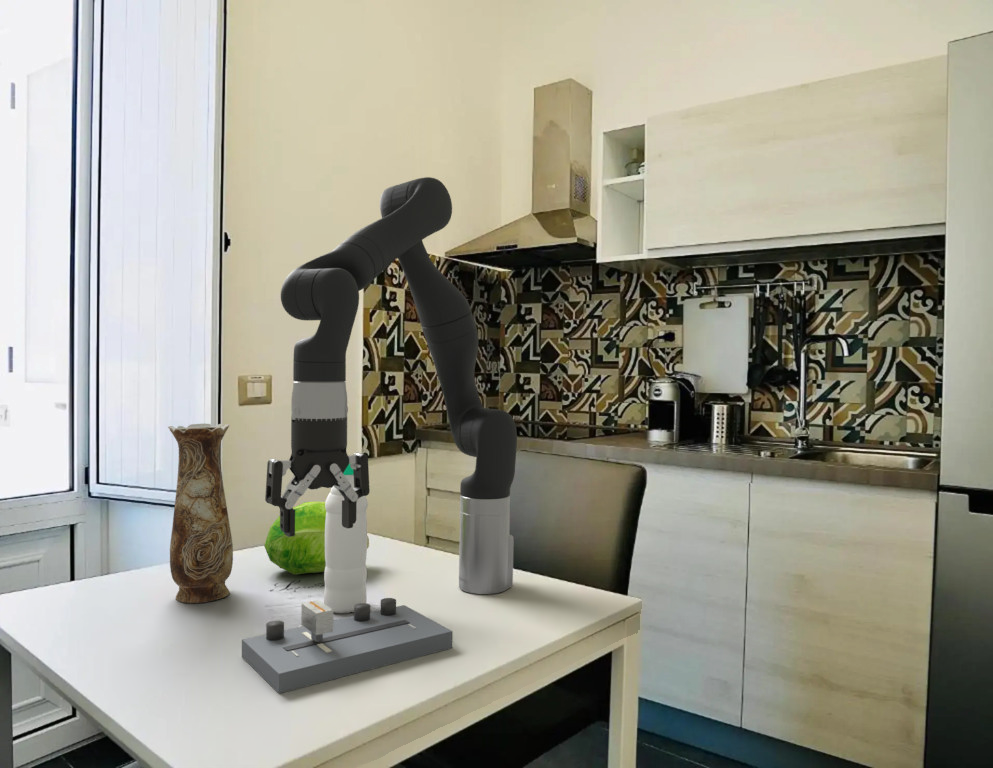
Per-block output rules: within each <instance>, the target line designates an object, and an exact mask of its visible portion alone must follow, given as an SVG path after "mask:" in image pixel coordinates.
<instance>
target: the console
mask: <svg viewBox="0 0 993 768" xmlns="http://www.w3.org/2000/svg"><path fill="white" fill-rule="evenodd" d="M265 626H266V627H265V629H266V632H265V634H260V635H256V636H255V635H254V636H250V637H245V638H241V658H242V659H243V660H244V661H245V662H246V663H247V664H248V665H249V666H251V668H252V669H253V670H254V671H255V672H256V673H257V674H258V675H259V676H260V677H261V678H263V680H265V682H266V683H267V684H268V685H270V687H272V688H273V689H274V690H275V692H276V693H278V694H282V693H286V692H289V691H294V690H297V689H301V688H305V687H309V686H314V685H317V684H320V683H325V682H329V681H332V680H335V679H339V678H343V677H347V676H350V675H354V674H359V673H362V672H367V671H369V670H373V669H377V668H381V667H384V666H389V665H392V664H396V663H399V662H404V661H408V660H411V659H415V658H419V657H423V656H426V655H427V656H428V655H430V654H433V653H434V654H435V653H438V652H442V651H446V650H449V649H453V636H454V635H453V634H454V633H453V630H451V629H450V628H448V627H446V626H444V625H443V624H440V623H438V622H437V621H435V620H433V619H431V618H429V617H427V616H425V615H424V614H422V613H420V612H418V611H416V610H415V609H412V608H411V607H408V606H407V605H405V604H404V605H398V606H397V599H396V598H393V597H386V598H385V597H384V598H382V599H380V607H379V610H374V611H373V610H372V611H371V604H369V603H368V602H366V603H360V604H356V605H354V612H353V615H351V616H347V617H346V616H345V617H341V618H335V619H333V632H329V633H325V634H323V641H319V642H315V641H314V640H313V639H311V631H309V630H308V629H307V628H305V627H304V626H303V625H301V626H299V627H293V628H289V629H285V621H283V620H271V621H268V622H266V625H265Z"/></svg>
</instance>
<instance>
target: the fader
mask: <svg viewBox="0 0 993 768" xmlns="http://www.w3.org/2000/svg"><path fill="white" fill-rule="evenodd" d="M300 617H301V619H300V620H301V622H300V623H301V626H304V627H305V628H307V629H308V630H309V631H311V639H313V640H314V641H315V642H319V641H323V634H325V633H329V632H333V620H334V612H333V609H331V608H330V607H328V606H326V605H325V604H324V602H322V601H320V600H319V599H317V600H313V601H307V602H303V603H301V616H300Z"/></svg>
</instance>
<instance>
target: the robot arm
mask: <svg viewBox="0 0 993 768" xmlns="http://www.w3.org/2000/svg"><path fill="white" fill-rule="evenodd" d="M379 210H380V217H381V218H379V219H378V220H376V221H374V222H372V223H370V224H367V225H366V226H364V227H361V228H360V229H359V230H356V231H355V232H354V233H353V234H351V235H350V236H348V237H347V238H346V239H344V240H343V241H342V242H341V243H340V244H338V245H337V246H336V247H335V248H334V249H333V250H331V251H330V252H327V253H325V254H322V255H320V256H318V257H316V258H314V259H312V260H310V261H307V262H305V263H303V264H301V265H299V266H298V267H296V268H294V269H293V270H292V271H291V272H290V273H289V274H288V275H287V276H286V278H285V279H284V281H283V283H282V285H281V289H280V301H281V305H282V308H283V310H284V311H285V312H286V313H287V314H288V315H289V316H290V317H292V318H294V319H296V320H299V321H319V324H318V327H317V329H316V331H315V333H314V334H313V335H311V336H308V337H305V338H303V339H300V340H298V341H296V342H295V344H294V347H293V361H292V363H293V369H292V370H293V371H292V372H293V373H292V377H293V379H292V380H293V383H292V392H291V400H290V401H291V403H290V404H291V405H290V406H291V407H290V409H291V417H290V418H291V421H290V422H291V426H290V445H291V446H290V447H291V448H290V449H291V455H290V458H289V459H281V460H280V459H279V460H278V459H276V458H270V459H268V461H267V463H266V464H267V466H266V468H267V469H266V481H265V482H266V483H265V499H264V500H265V502H266V503H268V504H270V505H272V506H273V507H278V509H279V516H280V529H281V531H282V532H284V534H285V535H286V536H288V537H292V536H295V509H293V508H294V507H295V504H296V503H297V502H298V501H299V499H300V498H301V497H302V496H303V495H304V494H305V493H306V491H307V490H308V489H309V490H311V491H312V490H318V489H322V488H327V489H331V488H332V487H333V486H334V487H335V488H336V489H337V490H338V491H339V492H340V494H341V495H342V496H343V498H344V500H342V526H343V527H345V528H352V527H353V524H354V523H355V522H356V503H357V500H358V499H359V498H360V497H362V496H368V495H369V494H370V476H369V475H370V473H369V457H368V454H364V453H362V452H361V453H360V452H354V453H353V454H352V455H351V454H350V455H349V454H348V452H347V448H348V413H349V407H348V394H347V393H348V392H347V385H346V383H347V382H346V381H347V379H346V377H347V373H346V371H347V363H346V362H347V358H346V357H347V351H348V347H349V342H350V339H351V334H352V331H353V327H354V323H355V321H356V316H357V314H358V313H357V312H358V309H359V304H360V291H362V290H363V289H365V288H366V287H368V285H370V284H371V283H372V282H374V280H375V279H376V278H377V277H378V276H379V275H381V273H382V272H384V271H385V270H386V269H387V268H388V267H389V266H390V265H391V264H392V263H393V262H394V261H396V260H398V262H399V264H400V266H401V269H402V271H403V273H404V276H405V279H406V282H407V285H408V287H409V289H410V290H409V291H410V293H411V297H412V298H413V299H412V300H413V302H414V305H415V308H416V311H417V312H416V313H417V316H418V318H419V322H420V325H421V329H422V332H423V335H424V337H425V342H426V344H427V346H428V347H427V348H428V350H429V352H430V355H431V358H432V361H433V364H434V368H435V372H436V374H437V377H438V380H439V383H440V387H441V390H442V394H443V399H444V404H445V407H446V412H447V418H448V423H449V428H450V431H451V435H452V436H451V437H452V438H453V441H454V444H455V446H456V448H457V449H458V450H459V451H460V452H461V453H463V454H464V455H467V456H469V457H473V458H476V459H475V469H474V471H473V473H472V474H470V475H469V476H466V477H463V478H462V479H461V482H460V492H459V494H460V495H459V496H460V497H459V499H460V500H459V501H460V502H459V547H458V548H459V553H458V557H459V559H458V561H459V563H458V565H459V566H458V588H459V589H460V590H461V591H464V592H466V593H470V594H477V595H491V594H498V593H503V592H505V591H506V590H508V589H509V588H512V587H513V586H514V585H513V584H514V583H513V582H514V543H515V541H514V536H513V535H512V534H510V514H511V513H510V512H511V511H510V510H511V507H510V505H511V487H512V485H513V481H514V478H515V474H516V460H517V447H518V446H517V445H518V443H517V442H518V434H517V426H516V422H515V421H514V418H513V416H512V415H511V414H510V413H509V412H507V411H505V410H502V409H497V408H487V407H484V406H483V403H482V401H481V398H480V396H479V392H478V389H477V386H476V380H475V370H476V369H475V368H476V363H477V357H478V350H479V334H478V328H477V326H476V323H475V319H474V315H473V312H472V309H471V305H470V304H469V301H468V300H467V298H466V297H465V296H464V294H463V293H462V291H460V290H459V289H458V287H457V286H456V285H454V284H453V282H451V280H449V279H448V278H447V277H446V275H444V274H443V273H442V272H441V271H440V270H439V269H438V268H437V266H436V265H435V264H434V263H433V261H432V259H431V257H430V256H429V254H428V251H427V249H426V247H425V244H424V242H423V240H425V239H426V238H427V237H429V236H431V235H433V234H435V233H437V232H440V231H441V230H443V229H444V228H445V227H446V226H447V225H448V224H449V223H450V221H451V218H452V215H453V214H452V213H453V203H452V198H451V195H450V193H449V191H448V189H447V187H446V185H445V184H444V183H443V182H442V181H440V180H439V179H438V178H435V177H431V176H428V177H427V176H425V177H419V178H415V179H412V180H409V181H406V182H402V183H399V184H396V185H393V186H389V187H388V188H386V189H384V190H383V192H381V196H380V198H379ZM349 464H350V467H351V468H352V469H353V474H354V488H352V487H351V484H350V482H349V481H348V480H347V478H346V477H345V476H344V474H343V473H344V471H345V470H346V468H347V466H348V465H349ZM288 470H289V471H290V472H291V474H293V477H292V478H291V479H290V481H289V483H287V485H286V488H285V491H284V492H283V493H282V487H283V486H282V485H283V477H284V476H286V474H287V471H288Z"/></svg>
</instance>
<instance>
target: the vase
mask: <svg viewBox="0 0 993 768" xmlns="http://www.w3.org/2000/svg"><path fill="white" fill-rule="evenodd" d="M229 427H230V424H224V425H223V424H222V423H219V424H216V425H214V426H213V425H212V424H211V423H193V424H189V425H188V426H187V427H186V426H183V425H177V427H174V426H170V425H169V426H167V428H168V429H169V432H170V433H171V434H172V436H173V437H174V439H175V440H176V442H177V446H178V447H177V448H178V464H177V465H178V468H177V469H178V470H177V480H176V481H177V482H176V491H175V501H174V511H173V517H172V527H171V535H170V544H169V568H170V574H171V578H172V580H173V582H174V583H175V584H176V585H177V586H178V592H177V593H176V595H175V600H176V601H178V602H180V603H186V604H196V603H197V604H200V603H209V602H213V601H216V600H220V599H223V598H225V597H227V596H229V595H230V590H229V588H228V587H227V585H226V581H228V579H229V577H230V576H231V573H232V570H233V564H234V550H233V549H234V546H233V545H234V544H233V536H232V531H231V527H230V519H229V514H228V512H229V511H228V506H227V500H226V495H225V487H224V481H223V474H222V473H223V472H222V464H221V463H222V462H221V453H220V450H221V448H220V447H221V443H222V440H223V438H224V437H225V435H226V433H227V431H228V429H229Z"/></svg>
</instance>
